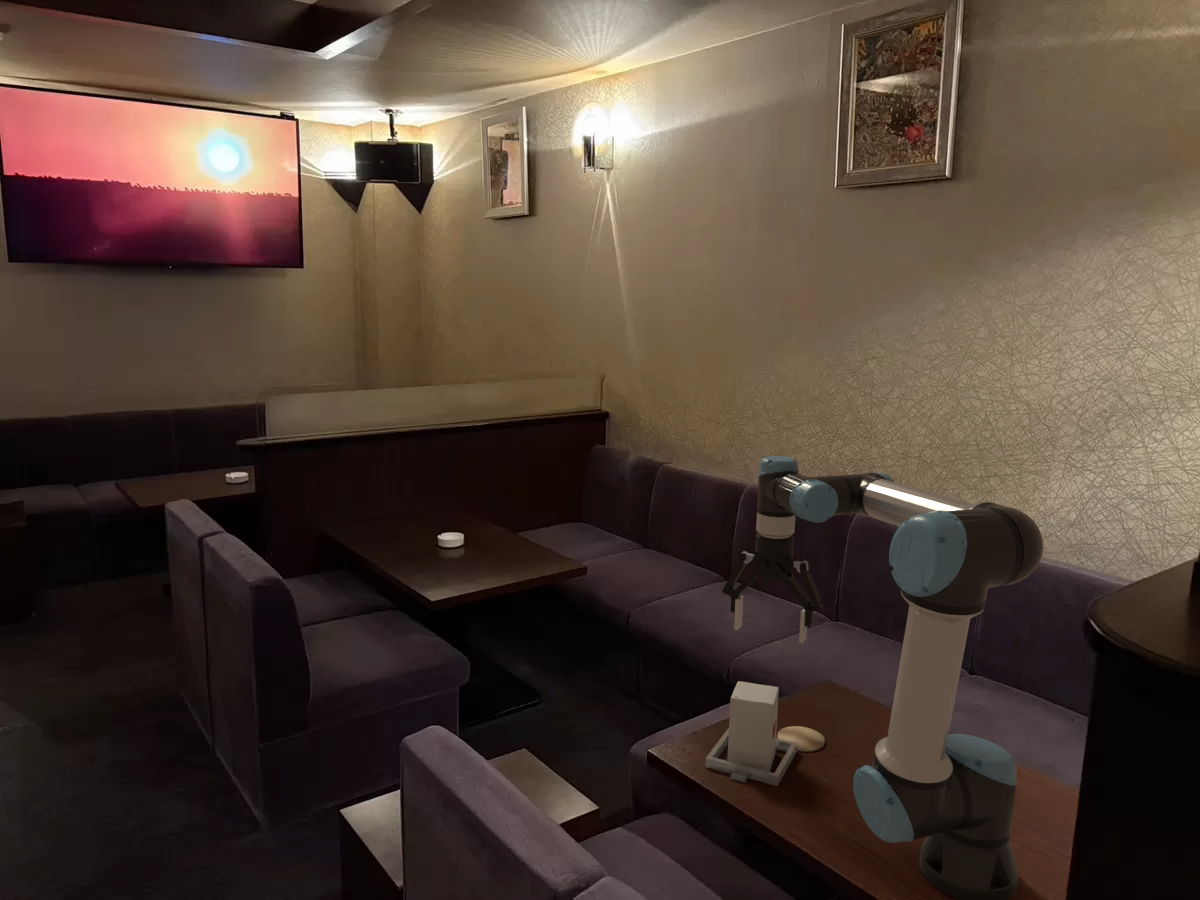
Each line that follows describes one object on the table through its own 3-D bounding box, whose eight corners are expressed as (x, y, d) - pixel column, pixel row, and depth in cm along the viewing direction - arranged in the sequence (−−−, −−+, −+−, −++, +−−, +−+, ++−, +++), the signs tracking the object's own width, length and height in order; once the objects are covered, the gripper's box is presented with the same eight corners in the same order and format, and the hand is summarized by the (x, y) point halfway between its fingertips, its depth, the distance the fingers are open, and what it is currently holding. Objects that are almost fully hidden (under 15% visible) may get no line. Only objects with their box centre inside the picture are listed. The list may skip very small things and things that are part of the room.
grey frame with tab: (774, 791, 170) (775, 781, 170) (701, 771, 177) (702, 762, 177) (799, 747, 187) (799, 738, 187) (731, 731, 194) (732, 722, 193)
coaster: (818, 755, 184) (818, 753, 184) (771, 744, 188) (772, 742, 188) (829, 735, 193) (829, 732, 193) (784, 724, 197) (784, 722, 197)
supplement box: (770, 774, 176) (774, 705, 174) (726, 766, 179) (729, 697, 177) (776, 752, 185) (780, 686, 182) (734, 745, 188) (737, 679, 185)
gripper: (842, 538, 172) (835, 640, 176) (722, 521, 184) (718, 617, 188) (833, 547, 166) (826, 653, 170) (709, 529, 177) (705, 628, 181)
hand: (769, 634), depth 179 cm, fingers open, 13 cm apart
